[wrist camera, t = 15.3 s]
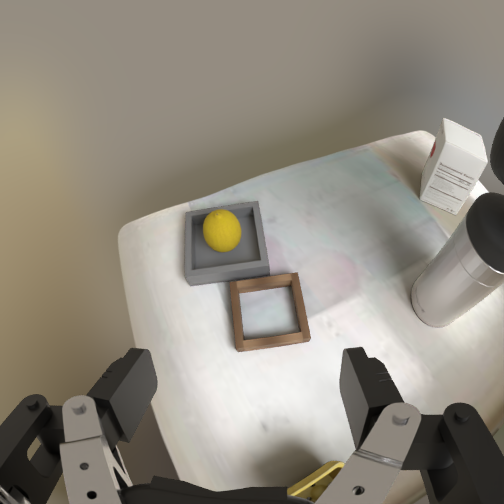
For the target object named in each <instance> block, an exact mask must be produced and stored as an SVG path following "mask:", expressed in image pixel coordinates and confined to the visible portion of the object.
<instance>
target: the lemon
mask: <svg viewBox="0 0 504 504" xmlns="http://www.w3.org/2000/svg"><path fill="white" fill-rule="evenodd" d="M203 235H204V238H205V241H206V242H207V244H208V245H209V246H210V247H211V248H212V249H213V250H215V251H218V252H228V251H231V250H233V249H234V248H235V247H236V246H237V245H238V244H239V242H240V239H241V226H240V223H239V221H238V219H237V218H236V216H235V215H234V214H233V213H231V212H230V211H228V210H224V209H218V210H215V211H212V212H211V213H209V214H208V215H207V217H206V218H205V220H204V224H203Z"/></svg>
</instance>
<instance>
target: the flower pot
mask: <svg viewBox="0 0 504 504" xmlns="http://www.w3.org/2000/svg"><path fill="white" fill-rule="evenodd" d="M344 465H345V464H344V463H343V462H340V461H330V462H328V463H326V464H325V465H323V466H322V467H321V468H319V469H318V470H316V471H315V472H313V473H312V474H310V475H309V476H307V477H306V478H304V479H303V480H301V481H300V482H298V483H297V484H295V485H293V486H292V487H290V488H288V489H287V495H292V496H297V497H301V498H304V499H307V498H308V497H310V498H311V500H310V501H312V502H314V503H315V502H316V501H317V500H318V498H319V497H320V496H321V495H322V494H323V492H324V491H325V490H326V489H327V487H328V484H330V483H331V482H332V481H333V480H334V478H335V477H336V476H337V474H338V473H339V472H340V470H341V469H342V468H343V466H344ZM314 483H315V485H314V486H311V485H313V484H314Z"/></svg>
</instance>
